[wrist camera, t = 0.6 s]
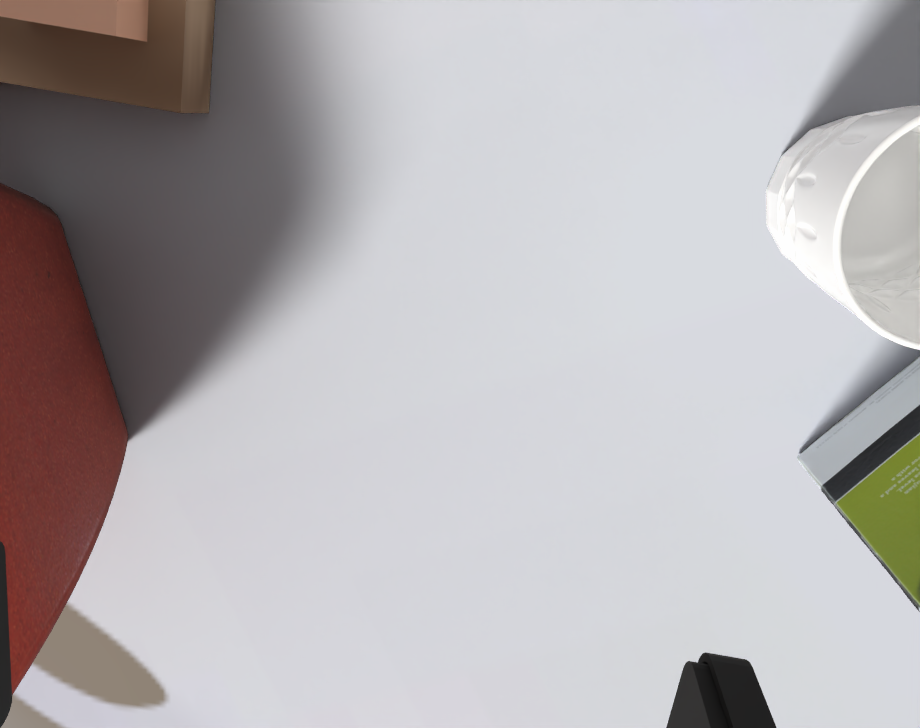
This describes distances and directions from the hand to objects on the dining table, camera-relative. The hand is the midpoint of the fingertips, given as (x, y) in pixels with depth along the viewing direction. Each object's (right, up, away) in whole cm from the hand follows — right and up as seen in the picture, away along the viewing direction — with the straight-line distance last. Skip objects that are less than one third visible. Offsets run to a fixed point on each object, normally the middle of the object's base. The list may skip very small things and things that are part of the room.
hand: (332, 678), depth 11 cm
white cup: (+18, +11, +24) cm, 32 cm away
